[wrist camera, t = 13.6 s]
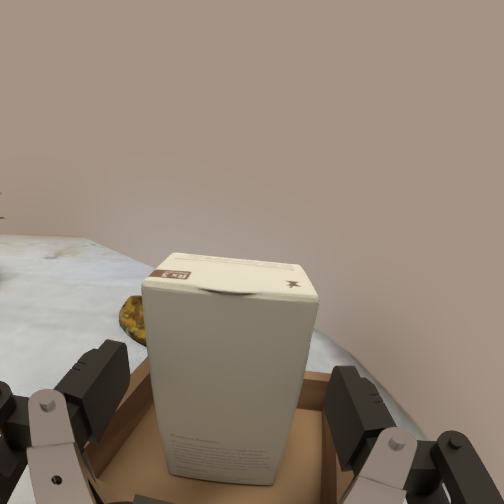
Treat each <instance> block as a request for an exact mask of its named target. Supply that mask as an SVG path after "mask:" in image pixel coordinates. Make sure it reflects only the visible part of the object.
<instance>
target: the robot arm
mask: <svg viewBox="0 0 504 504" xmlns="http://www.w3.org/2000/svg"><path fill="white" fill-rule="evenodd" d="M129 384H130V368H129V361H128V353H127V346H126V344H125V343H122V342H118V341H113V340H109V339H107V340H105V342H104V343H103V344H102V345H101V346H100V347H99V349H92V350H90V351H88V352H86V353H85V354H83V355H82V357H81V358H80V359H79V360H78V361H77V363H75V365H74V366H73V367H72V369H70V370H69V372H68V373H67V374H66V375H65V376H64V377H63V379H62V380H61V381H60V382H59V383H58V384H57V386H56V387H55V388H54V389H53V390H52V389H43V390H39V391H37V392H35V393H34V394H33V395H32V396H31V397H30V398H28V397H22V396H16V395H13V394H12V391H11V389H10V387H9V385H8V384H6V383H5V382H2V381H0V435H1V436H0V504H7V502H8V500H9V498H10V496H11V494H12V492H13V490H14V488H15V486H16V485H17V483H18V481H19V479H20V477H21V475H22V473H23V471H24V470H25V468H26V466H27V464H28V465H29V471H30V477H31V482H32V487H33V491H34V496H35V500H36V504H174V503H172V502H167V501H163V500H158V499H154V498H150V497H146V496H142V495H138V494H135V496H134V499H133V502H132V501H120V502H112V503H107V502H106V500H105V498H104V496H103V494H102V492H101V490H100V488H99V486H98V483H97V481H96V478H95V475H94V473H93V470H92V467H91V464H90V462H89V459H88V456H87V453H86V450H85V448H84V447H85V445H86V443H87V441H89V442H92V443H95V444H99V442H100V440H101V438H102V436H103V434H104V432H105V430H106V428H107V427H108V425H109V423H110V421H111V419H112V417H113V415H114V413H115V412H116V410H117V408H118V406H119V404H120V402H121V400H122V399H123V397H124V395H125V393H126V391H127V390H128V387H129ZM324 411H325V414H326V418H327V421H328V425H329V428H330V432H331V435H332V439H333V442H334V446H335V449H336V453H337V456H338V460H339V464H340V467H341V471H342V472H346V471H353V474H354V477H353V478H352V480H351V482H350V483H349V485H348V486H347V488H346V490H345V491H344V493H343V494H342V496H341V497H340V499H339V501H338V502H337V504H403V501H404V499H405V497H406V500H407V503H408V504H450V503H449V500H448V498H447V496H446V493H445V491H444V489H443V486H442V484H443V483H444V484H445V486H446V488H447V491H448V493H449V495H450V498H451V504H504V501H503V499H502V497H501V495H500V493H499V491H498V489H497V488H496V486H495V484H494V482H493V480H492V478H491V477H490V475H489V473H488V471H487V470H486V468H485V466H484V464H483V463H482V461H481V459H480V458H479V456H478V454H477V453H476V451H475V449H474V448H473V446H472V444H471V443H470V441H469V440H468V438H467V437H466V436H465V435H464V434H462V433H460V432H457V431H446V432H444V433H442V434H441V435H440V436H439V438H438V439H437V441H419V440H416V438H415V436H414V435H413V434H412V433H411V432H410V431H408V430H406V429H404V428H400V427H397V426H396V424H395V422H394V420H393V418H392V416H391V415H390V413H389V411H388V409H387V407H386V405H385V403H383V400H382V398H381V396H379V392H378V391H377V389H376V387H375V385H374V384H373V383H371V382H370V381H369V380H368V379H367V378H361V377H360V375H359V373H358V371H357V369H356V368H355V366H335V367H334V368H333V371H332V374H331V377H330V380H329V383H328V387H327V390H326V393H325V396H324Z"/></svg>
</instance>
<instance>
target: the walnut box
mask: <svg viewBox="0 0 504 504" xmlns="http://www.w3.org/2000/svg"><path fill="white" fill-rule="evenodd" d="M330 377H331V374H328V373H319V372H311V371H305V374H304V378H303V382H302V387H301V391H300V395H299V399H298V403H297V407H296V411H295V414H294V418H293V422H292V425H291V429H290V433H289V436H288V440H287V443H286V446H285V450H284V453H283V456H282V460H281V463H280V466H279V469H278V472H277V475H276V479H275V482H274V484H273V485H253V484H237V483H226V482H217V481H209V480H201V479H195V478H188V477H182V476H177V475H172V474H170V473H169V470H168V466H167V462H166V457H165V453H164V448H163V444H162V440H161V435H160V430H159V425H158V420H157V415H156V409H155V403H154V397H153V390H152V384H151V377H150V370H149V362H148V357H147V358H146V359H145V360H144V361H143V362H142V363H141V364H140V365H139V366H138V367H137V368H136V369H135V370H134V372H133V373H132V374H131V375H130V384H129V387H128V390H127V391H126V393H125V395H124V397H123V399H122V400H121V402H120V404H119V406H118V408H117V410H116V412H115V413H114V415H113V417H112V419H111V421H110V423H109V425H108V427H107V428H106V430H105V432H104V434H103V436H102V438H101V440H100V442H99V444H95V443H92V442H89V441H87V443H86V445H85V447H84V448H85V450H86V453H87V456H88V459H89V462H90V464H91V467H92V470H93V473H94V475H95V478H96V481H97V483H98V486H99V488H100V490H101V492H102V494H103V496H104V498H105V500H106V502H107V503H112V502H120V501H132V502H133V499H134V496H135V494H138V495H142V496H146V497H150V498H154V499H158V500H163V501H167V502H172V503H174V504H337V502H338V501H339V499H340V497H341V496H342V494H343V493H344V491H345V490H346V488H347V486H348V485H349V483H350V482H351V480H352V478H353V477H354V474H353V471H346V472H342V471H341V467H340V464H339V460H338V456H337V453H336V449H335V446H334V442H333V439H332V435H331V432H330V428H329V425H328V421H327V418H326V414H325V411H324V396H325V393H326V390H327V387H328V383H329V380H330Z"/></svg>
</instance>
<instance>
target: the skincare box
mask: <svg viewBox="0 0 504 504" xmlns="http://www.w3.org/2000/svg"><path fill="white" fill-rule="evenodd" d="M141 291H142V303H143V314H144V325H145V335H146V345H147V353H148V362H149V370H150V377H151V384H152V390H153V397H154V403H155V409H156V415H157V420H158V425H159V430H160V435H161V440H162V444H163V448H164V453H165V457H166V462H167V466H168V470H169V473H170V474H172V475H177V476H182V477H188V478H195V479H201V480H209V481H217V482H226V483H237V484H253V485H273V484H274V482H275V479H276V475H277V472H278V469H279V466H280V463H281V460H282V456H283V453H284V450H285V446H286V443H287V440H288V436H289V433H290V429H291V425H292V422H293V418H294V414H295V411H296V407H297V403H298V399H299V395H300V391H301V387H302V382H303V378H304V374H305V369H306V364H307V360H308V354H309V349H310V342H311V337H312V333H313V328H314V324H315V319H316V315H317V311H318V306H319V298H318V295H317V293H316V291H315V289H314V287H313V285H312V284H311V282H310V280H309V278H308V277H307V275H306V273H305V271H304V270H303V269H302V268H301V266H300V265H295V264H285V263H275V262H265V261H254V260H244V259H233V258H223V257H212V256H202V255H192V254H184V253H173V254H171V255H170V256H169V257H168V258H167V259H166V260H164V261H163V262H162V263H161V264H160V265H159V266H158V267H157V268H156V269H155V270H154V271H153V272H152V273H151V274H150V275H149V276H148V277H147V278H146V279H145V280H144V281H143V282H142V285H141Z"/></svg>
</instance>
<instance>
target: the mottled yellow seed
mask: <svg viewBox="0 0 504 504" xmlns="http://www.w3.org/2000/svg"><path fill="white" fill-rule="evenodd" d="M119 322H120V326H121V328H122V329H123V330H124V331H125V332H126V334H127V335H128V336H130V337H131V338H132V339H134V340H135V341H137V342H139V343H141V344H142V345H144V346H146V347H147V345H146V335H145V325H144V314H143V303H142V296H130V297H129V298H128V299H127V301H126V302H125V304H124V305H123V307H122V309H121V311H120V314H119Z"/></svg>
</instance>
